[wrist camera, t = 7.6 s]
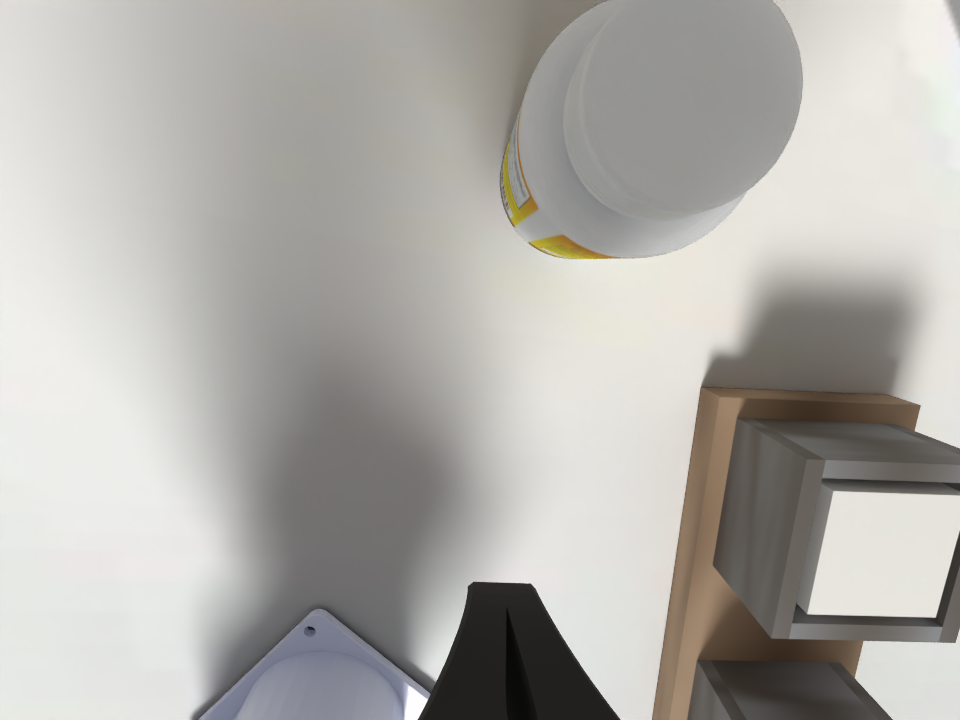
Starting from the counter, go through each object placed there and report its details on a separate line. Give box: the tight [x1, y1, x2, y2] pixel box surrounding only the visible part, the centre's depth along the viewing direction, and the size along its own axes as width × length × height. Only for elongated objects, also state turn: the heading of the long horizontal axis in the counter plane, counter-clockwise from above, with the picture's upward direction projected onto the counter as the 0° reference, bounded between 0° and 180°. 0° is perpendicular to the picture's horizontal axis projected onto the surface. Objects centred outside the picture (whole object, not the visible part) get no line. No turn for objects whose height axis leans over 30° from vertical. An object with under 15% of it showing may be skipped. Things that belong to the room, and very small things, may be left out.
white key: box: [796, 478, 960, 618], centre depth 17 cm, size 4×4×2 cm
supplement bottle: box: [500, 0, 803, 259], centre depth 14 cm, size 6×6×10 cm
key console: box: [652, 387, 960, 720], centre depth 20 cm, size 8×19×6 cm, turn 177°
